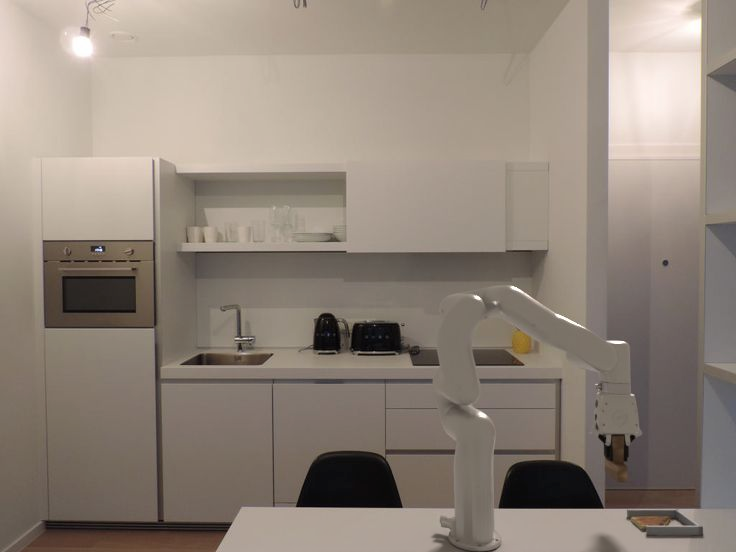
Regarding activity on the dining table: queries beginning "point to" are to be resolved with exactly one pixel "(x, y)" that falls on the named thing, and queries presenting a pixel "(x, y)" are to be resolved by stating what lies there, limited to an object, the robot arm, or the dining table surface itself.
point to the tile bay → (689, 529)
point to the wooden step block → (617, 459)
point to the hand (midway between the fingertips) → (616, 459)
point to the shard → (650, 521)
